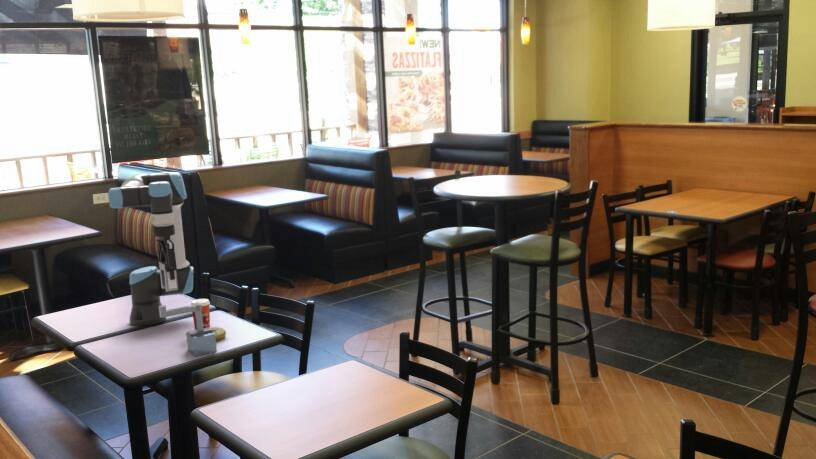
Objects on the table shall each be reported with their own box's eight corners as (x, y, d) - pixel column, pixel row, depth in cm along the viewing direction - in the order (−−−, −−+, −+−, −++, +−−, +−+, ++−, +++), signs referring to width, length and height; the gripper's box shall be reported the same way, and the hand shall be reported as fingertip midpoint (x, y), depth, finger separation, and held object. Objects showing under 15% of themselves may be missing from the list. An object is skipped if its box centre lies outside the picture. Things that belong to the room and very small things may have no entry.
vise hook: (161, 355, 276) (155, 303, 273) (208, 344, 286) (204, 295, 283) (168, 362, 268) (163, 309, 265) (217, 351, 278) (212, 300, 274)
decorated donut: (194, 339, 295) (193, 330, 294) (219, 333, 301) (218, 324, 301) (204, 345, 287) (203, 335, 286) (230, 338, 293) (229, 329, 292)
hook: (161, 288, 272) (158, 261, 270) (172, 286, 274) (169, 259, 272) (167, 291, 266) (164, 264, 264) (178, 289, 268) (175, 263, 267)
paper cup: (209, 336, 296) (206, 303, 294) (190, 337, 296) (187, 303, 294) (215, 330, 304) (212, 297, 301) (196, 331, 304) (193, 298, 302)
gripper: (145, 222, 272) (151, 282, 276) (160, 229, 256) (167, 293, 260) (165, 220, 276) (171, 279, 280) (182, 226, 260) (188, 289, 264)
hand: (169, 286), depth 270 cm, fingers closed on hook, 7 cm apart
